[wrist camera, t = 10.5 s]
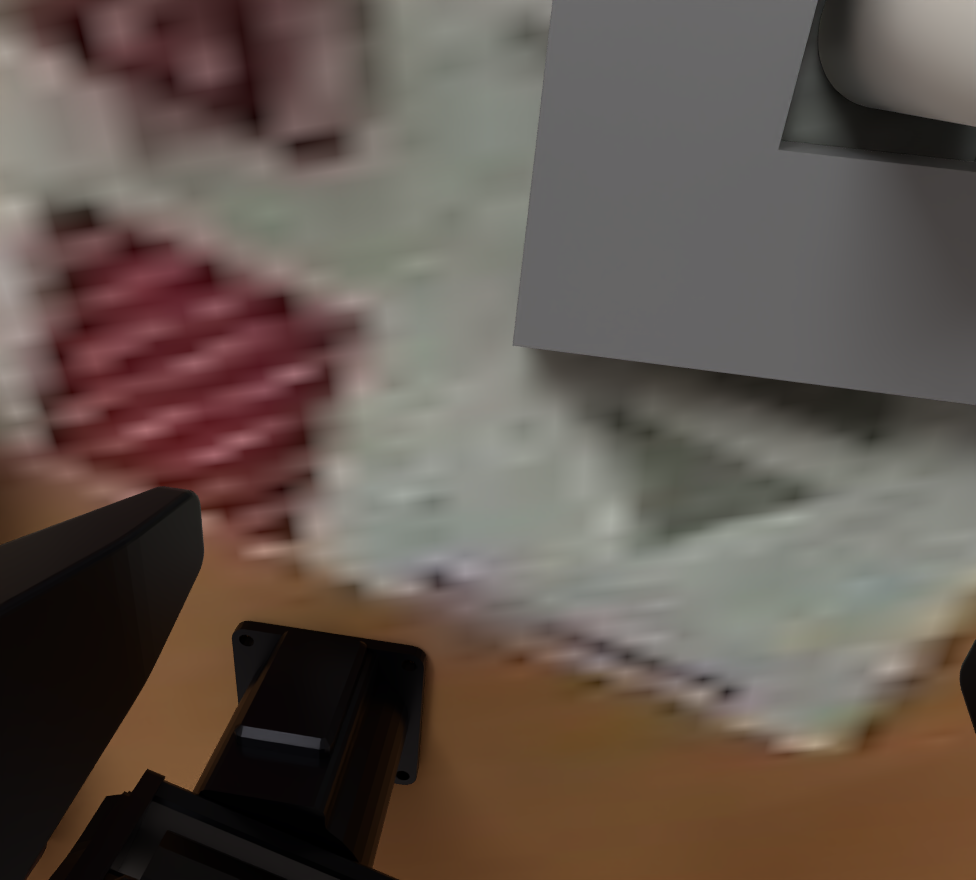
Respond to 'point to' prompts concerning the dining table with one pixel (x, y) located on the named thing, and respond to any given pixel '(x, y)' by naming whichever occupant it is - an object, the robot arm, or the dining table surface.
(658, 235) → the hole plate
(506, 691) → the dining table surface
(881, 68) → the long pin
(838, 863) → the dining table surface
